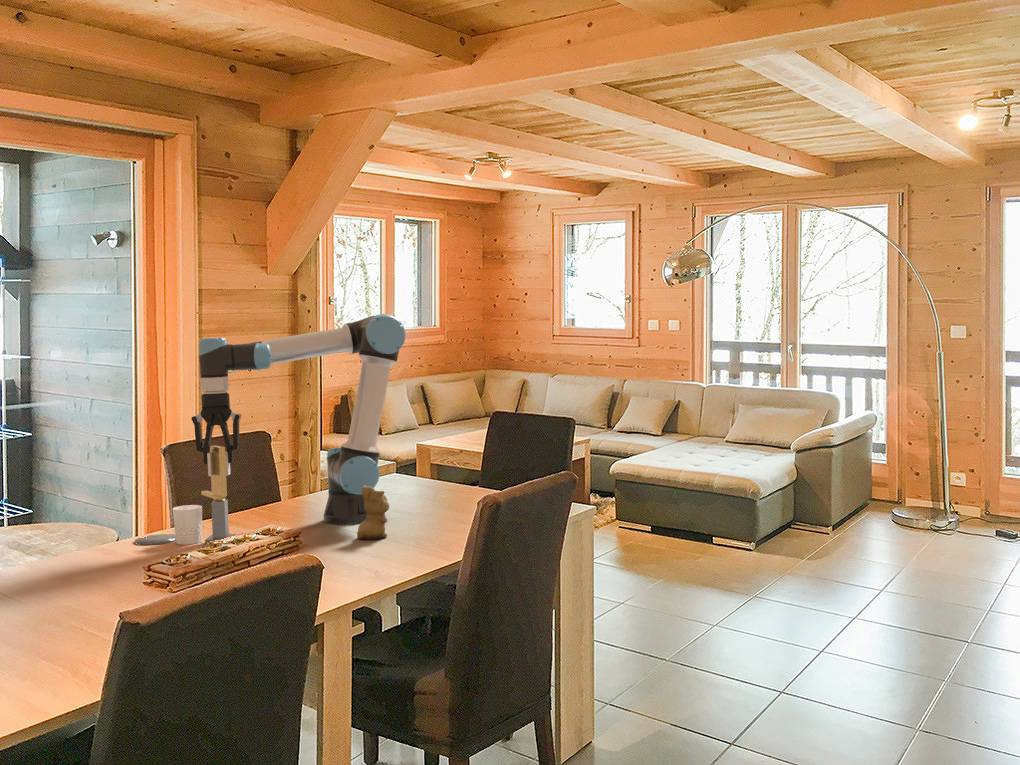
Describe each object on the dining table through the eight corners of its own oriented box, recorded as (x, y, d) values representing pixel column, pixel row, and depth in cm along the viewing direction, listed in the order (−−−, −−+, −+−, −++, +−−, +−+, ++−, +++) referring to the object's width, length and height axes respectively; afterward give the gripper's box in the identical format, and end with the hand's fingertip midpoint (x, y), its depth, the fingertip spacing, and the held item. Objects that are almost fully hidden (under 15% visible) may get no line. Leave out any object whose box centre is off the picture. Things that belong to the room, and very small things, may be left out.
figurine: (397, 535, 262) (396, 483, 261) (384, 542, 254) (382, 488, 253) (367, 534, 265) (365, 482, 265) (352, 540, 257) (350, 487, 257)
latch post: (236, 538, 264) (235, 498, 264) (230, 543, 257) (229, 502, 257) (211, 538, 264) (210, 499, 263) (205, 544, 257) (203, 503, 256)
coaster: (184, 535, 270) (184, 533, 270) (172, 544, 258) (172, 542, 258) (143, 536, 269) (143, 534, 269) (128, 545, 257) (128, 543, 257)
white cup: (194, 545, 255) (192, 510, 255) (168, 545, 257) (167, 509, 257) (208, 539, 263) (207, 505, 263) (183, 539, 265) (182, 504, 264)
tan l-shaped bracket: (229, 501, 258) (227, 446, 258) (218, 502, 256) (216, 448, 256) (209, 494, 271) (207, 443, 270) (199, 495, 269) (197, 444, 268)
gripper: (248, 390, 263) (253, 471, 264) (187, 393, 262) (192, 474, 262) (242, 391, 255) (247, 475, 256) (180, 394, 254) (184, 478, 255)
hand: (219, 474), depth 259 cm, fingers closed on tan l-shaped bracket, 4 cm apart
